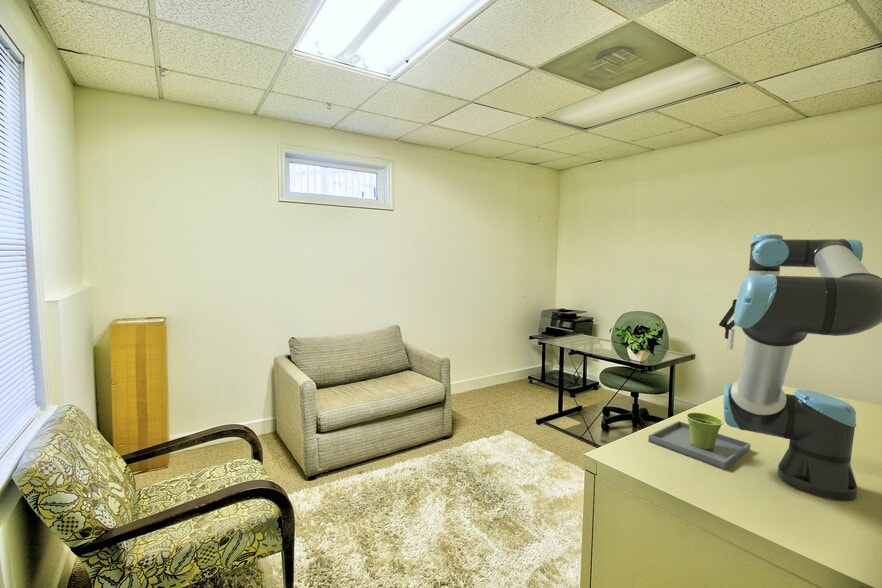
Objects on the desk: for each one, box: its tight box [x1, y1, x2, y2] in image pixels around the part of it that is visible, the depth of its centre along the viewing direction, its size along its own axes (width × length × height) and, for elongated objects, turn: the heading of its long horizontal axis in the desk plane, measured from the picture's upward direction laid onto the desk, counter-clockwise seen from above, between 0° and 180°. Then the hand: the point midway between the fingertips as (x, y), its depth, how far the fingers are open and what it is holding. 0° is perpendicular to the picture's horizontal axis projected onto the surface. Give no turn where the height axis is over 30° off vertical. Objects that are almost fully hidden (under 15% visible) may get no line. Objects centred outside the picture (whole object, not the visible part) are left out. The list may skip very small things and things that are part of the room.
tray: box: [647, 420, 752, 471], centre depth 125 cm, size 21×21×2 cm
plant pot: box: [685, 412, 724, 450], centre depth 124 cm, size 9×9×9 cm
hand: (755, 353), depth 126 cm, fingers open, 13 cm apart
